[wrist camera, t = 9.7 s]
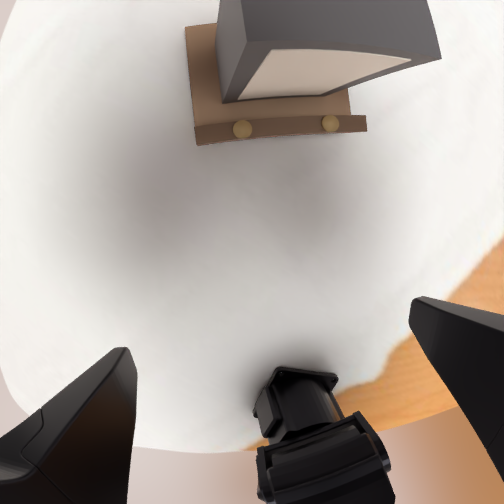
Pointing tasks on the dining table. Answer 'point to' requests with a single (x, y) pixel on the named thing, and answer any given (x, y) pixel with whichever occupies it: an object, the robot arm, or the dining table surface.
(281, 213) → the dining table surface
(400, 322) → the dining table surface
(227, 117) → the drawer
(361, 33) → the grey box
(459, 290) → the dining table surface
